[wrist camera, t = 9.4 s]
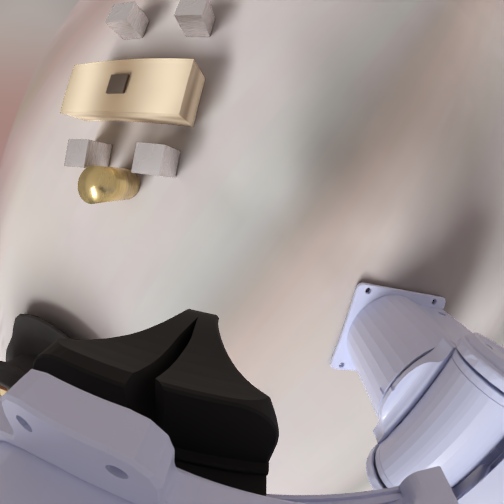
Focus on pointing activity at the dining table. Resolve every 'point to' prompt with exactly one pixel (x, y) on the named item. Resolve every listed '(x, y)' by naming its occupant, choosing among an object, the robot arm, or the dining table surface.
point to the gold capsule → (107, 184)
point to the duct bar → (135, 91)
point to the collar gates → (133, 26)
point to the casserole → (26, 348)
